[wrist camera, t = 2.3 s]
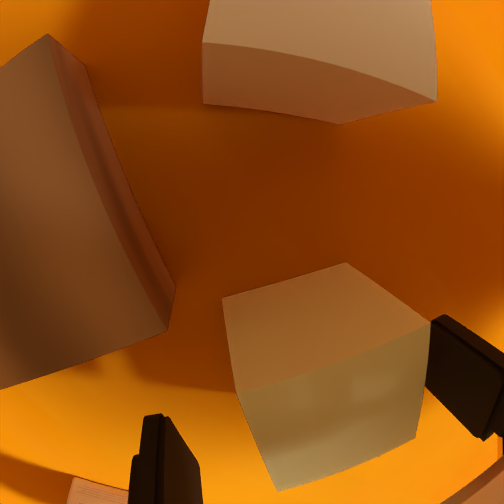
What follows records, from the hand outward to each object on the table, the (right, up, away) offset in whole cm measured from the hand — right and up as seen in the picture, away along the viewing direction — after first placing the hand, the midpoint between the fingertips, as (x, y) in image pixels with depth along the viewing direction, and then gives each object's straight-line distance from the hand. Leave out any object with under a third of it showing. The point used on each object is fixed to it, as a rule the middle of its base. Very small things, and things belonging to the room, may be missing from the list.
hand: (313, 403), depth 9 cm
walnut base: (-12, +6, +2) cm, 13 cm away
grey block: (-1, +13, +1) cm, 13 cm away
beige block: (0, +1, +4) cm, 5 cm away
